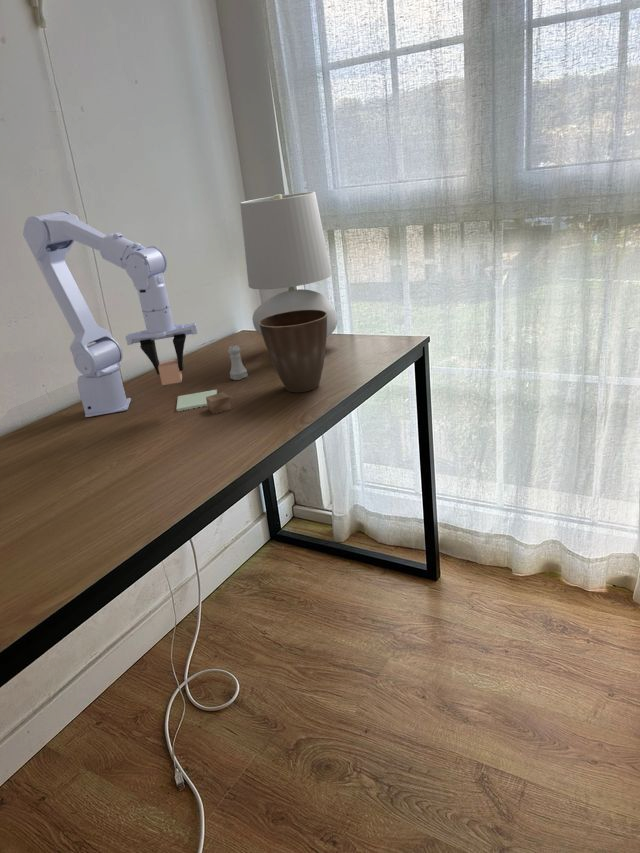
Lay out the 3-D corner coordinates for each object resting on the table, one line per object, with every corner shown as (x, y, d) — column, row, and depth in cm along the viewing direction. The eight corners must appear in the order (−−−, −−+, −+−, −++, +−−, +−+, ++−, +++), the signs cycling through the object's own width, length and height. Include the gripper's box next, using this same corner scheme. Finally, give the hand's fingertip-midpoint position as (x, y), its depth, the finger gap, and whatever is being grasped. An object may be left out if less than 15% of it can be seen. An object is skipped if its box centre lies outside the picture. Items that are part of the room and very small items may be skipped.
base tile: (177, 414, 147) (176, 408, 147) (179, 401, 155) (178, 396, 155) (218, 406, 148) (217, 401, 147) (217, 394, 156) (216, 389, 156)
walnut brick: (214, 414, 142) (211, 401, 141) (208, 409, 145) (205, 397, 144) (231, 409, 144) (229, 396, 142) (225, 405, 147) (223, 392, 146)
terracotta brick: (162, 385, 141) (158, 367, 139) (163, 379, 145) (159, 362, 143) (181, 382, 141) (177, 363, 140) (182, 376, 145) (178, 359, 143)
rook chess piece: (251, 374, 165) (246, 343, 162) (242, 380, 161) (236, 348, 159) (236, 374, 167) (230, 343, 164) (226, 380, 163) (220, 349, 160)
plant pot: (296, 374, 160) (286, 308, 154) (348, 378, 152) (340, 309, 146) (257, 395, 149) (244, 325, 143) (311, 401, 141) (300, 327, 135)
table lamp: (244, 365, 174) (214, 205, 159) (273, 342, 193) (249, 196, 178) (328, 361, 167) (305, 193, 152) (350, 337, 185) (331, 185, 171)
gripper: (117, 318, 133) (133, 382, 138) (190, 306, 134) (203, 371, 139) (122, 311, 140) (138, 373, 145) (192, 300, 141) (204, 362, 146)
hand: (170, 371), depth 142 cm, fingers closed on terracotta brick, 4 cm apart
